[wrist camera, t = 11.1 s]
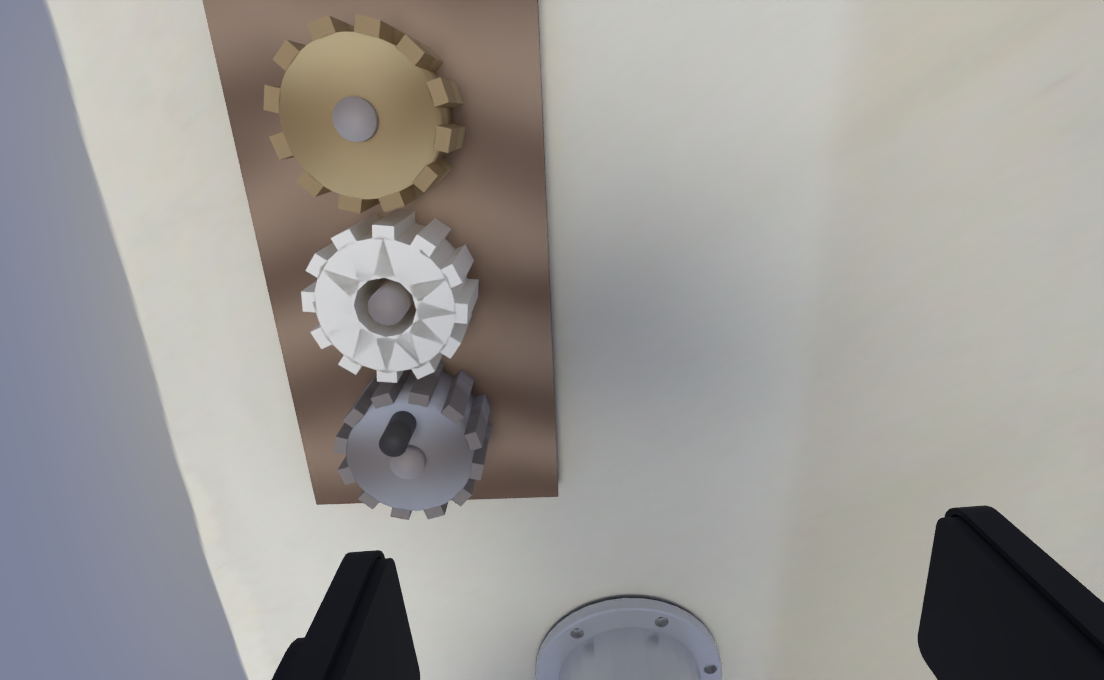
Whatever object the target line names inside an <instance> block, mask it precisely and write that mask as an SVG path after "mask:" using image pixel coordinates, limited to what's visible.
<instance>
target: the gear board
mask: <svg viewBox="0 0 1104 680" xmlns="http://www.w3.org/2000/svg"><path fill="white" fill-rule="evenodd" d="M203 5H204V9H205V13H206V18H207V22H208V27H209V31H210V35H211V40H212V44H213V49H214V53H215V58H216V62H217V66H218V71H219V75H220V80H221V84H222V89H223V93H224V97H225V102H226V106H227V111H228V115H229V119H230V124H231V128H232V133H233V137H234V142H235V146H236V150H237V155H238V159H239V164H240V168H241V173H242V177H243V181H244V186H245V190H246V195H247V199H248V203H249V208H250V212H251V217H252V221H253V226H254V230H255V234H256V239H257V243H258V248H259V252H260V257H261V261H262V265H263V270H264V274H265V279H266V283H267V287H268V292H269V296H270V301H271V305H272V310H273V314H274V318H275V323H276V327H277V332H278V336H279V341H280V345H281V349H282V354H283V358H284V363H285V367H286V371H287V376H288V380H289V385H290V389H291V394H292V398H293V402H294V407H295V411H296V416H297V420H298V425H299V429H300V433H301V438H302V442H303V447H304V451H305V455H306V460H307V464H308V469H309V473H310V478H311V482H312V486H313V491H314V495H315V500H316V504H317V505H319V504H349V503H364V504H366V505H367V506H369V507H370V508H372V509H373V508H374V507H375V506H376V505H377V504H378V503H380V502H381V503H383V504H385V505H387V506H390V507H392V512H391V517H396V518H401V519H407V520H409V518H410V515H411V512H412V511H418V510H424V512H425V514H426V516H427V518H428V519H431V518H435V517H438V516H442V515H445V512H446V508H447V504H448V501H450V500H453V501H454V502H455V503H457V504H458V505H459V506H461V505H462V504H463V503H465V502H466V501H467V500H470V499H500V498H530V497H558V468H557V444H556V420H555V397H554V373H553V349H552V325H551V302H550V278H549V254H548V230H547V206H546V183H545V159H544V135H543V111H542V87H541V64H540V40H539V16H538V0H203ZM395 210H408V211H415V223H417V224H420V225H423V226H425V227H426V226H427V225H428V224H429V223H430V222H431V221H432V220H434V219H435V218H436V219H437V220H439V221H440V222H442V223H443V224H445V225H447V226H448V227H450V228H451V230H450V232H449V234H448V235H447V237H446V238H445V239H446V240H447V241H448V242H449V243H450V244H451V245H452V246H453V247H454V248H455V249H456V248H458V247H460V246H462V245H464V244H466V246H467V248H468V250H469V252H470V254H471V255H472V257H473V259H474V262H473V264H472V266H471V268H470V270H469V271H468V273H467V279H479V285H478V298H477V301H476V303H475V306H474V308H473V311H472V313H471V314H472V317H471V319H470V322H469V324H468V327H467V329H466V332H465V334H464V337H463V339H462V342H461V344H460V345H459V347H458V348H457V350H456V351H455V353H454V354H453V356H452V357H451V359H450V358H448V357H447V356H445V355H442V357H441V359H440V362H439V364H438V366H437V368H436V370H435V372H433V373H431V374H429V375H426V376H424V377H422V378H420V379H417V378H416V376H415V374H414V373H413V371H412V369H409V370H404V371H403V373H402V375H401V377H400V378H399V380H398V382H397V383H392V382H378V381H377V370H375V369H371V368H368V367H365V366H362V368H361V369H360V370H359V372H358V373H357V374H356V375H355V374H353V373H352V372H350V371H348V370H347V369H345V368H343V367H341V366H340V365H338V364H339V362H340V360H341V359H342V357H343V356H344V355H343V354H342V353H341V352H340V351H339V350H338V349H337V348H336V347H335V346H334V345H333V344H332V345H330V346H328V347H325V348H323V349H321V348H320V346H319V345H318V343H317V342H316V340H315V339H314V337H313V336H312V334H311V333H310V332H311V331H312V330H313V329H314V328H315V327H316V326H317V325H319V324H320V323H319V320H318V317H317V314H316V312H303V309H302V297H301V291H303V290H304V289H305V288H307V287H308V286H310V285H311V284H312V283H314V282H315V281H317V277H315V276H313V275H312V274H310V273H308V272H307V271H305V270H306V269H307V267H308V265H309V263H310V261H311V260H312V258H313V256H314V254H315V253H316V252H318V251H320V250H321V249H323V248H325V247H326V246H328V245H330V244H332V243H333V241H332V240H331V238H332V237H334V236H335V235H337V234H339V233H341V232H343V231H344V230H346V229H348V228H350V227H352V226H353V225H355V224H357V223H359V222H360V221H362V220H364V219H366V218H368V217H370V216H372V215H374V214H376V213H377V215H378V217H379V218H380V219H382V218H383V217H385V216H387V215H388V214H390V213H392V212H393V211H395ZM379 281H380V284H381V287H380V288H379V289H378V290H377V291H376V292H375V293H374V294H373V295H372V296H371V297H370V299H369V301H368V311H369V314H370V315H371V317H372V318H373V319H374V320H375V321H376V322H378V323H379V324H382V325H394V324H397V323H398V322H400V321H401V320H402V318H403V317H404V316H405V314H406V313H407V311H408V310H409V309H410V308H412V307H415V304H414V300H413V296H412V294H411V293H410V292H409V291H408V290H407V289H406V288H405V287H404V286H403V285H402V284H401V283H399V282H396V281H393V280H390V279H387V278H380V280H379Z"/></svg>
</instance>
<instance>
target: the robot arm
mask: <svg viewBox="0 0 1104 680" xmlns="http://www.w3.org/2000/svg"><path fill="white" fill-rule="evenodd" d="M918 645H919V649H920V652H921V654H922V657H923V658H924V660H925V662H926V663H927V665H928V666H929V668H930V669H931V671H932V672H933V673H934V675H935V676H936V678H937V679H938V680H1104V603H1103V602H1102V601H1101V600H1100V599H1099V598H1097V597H1096V596H1095V595H1094V594H1093V593H1092V592H1091V591H1089V590H1088V589H1087V588H1086V587H1085V586H1084V585H1082V584H1081V583H1080V582H1079V581H1078V580H1077V579H1076V578H1074V577H1073V576H1072V575H1071V574H1070V573H1069V572H1067V571H1066V570H1065V569H1064V568H1063V567H1062V566H1060V565H1059V564H1058V563H1057V562H1056V561H1055V560H1054V559H1052V558H1051V557H1050V556H1049V555H1048V554H1047V553H1045V552H1044V551H1043V550H1042V549H1041V548H1040V547H1038V546H1037V545H1036V544H1035V543H1034V542H1033V541H1032V540H1030V539H1029V538H1028V537H1027V536H1026V535H1025V534H1023V533H1022V532H1021V531H1020V530H1019V529H1018V528H1017V527H1015V526H1014V525H1013V524H1012V523H1011V522H1010V521H1008V520H1007V519H1006V518H1005V517H1004V516H1003V515H1001V514H1000V513H999V512H998V511H997V510H995V509H994V508H992V507H990V506H973V507H960V508H952V509H949V510H948V511H947V512H946V514H945V517H944V518H940V519H939V520H938V522H937V525H936V530H935V536H934V542H933V548H932V554H931V560H930V566H929V572H928V578H927V584H926V590H925V596H924V602H923V608H922V614H921V620H920V626H919V632H918ZM721 678H722V663H721V660H720V656H719V653H718V649H717V646H716V644H715V642H714V639H713V637H712V635H711V634H710V632H709V631H708V630H707V629H706V627H705V626H704V625H703V624H702V623H701V622H700V621H699V620H697V619H696V618H695V617H694V616H693V615H691V614H690V613H688V612H686V611H684V610H682V609H680V608H678V607H677V606H674V605H671V604H668V603H664V602H661V601H657V600H650V599H644V598H620V599H613V600H606V601H602V602H599V603H595V604H592V605H589V606H586V607H584V608H582V609H580V610H578V611H576V612H574V613H572V614H570V615H569V616H568V617H566V618H565V619H563V620H562V621H560V622H559V623H558V624H557V625H556V626H555V627H554V628H553V629H552V630H551V631H550V632H549V633H548V635H547V637H546V638H545V640H544V641H543V643H542V645H541V647H540V650H539V653H538V656H537V663H536V680H721ZM272 680H420V671H419V666H418V661H417V657H416V653H415V648H414V644H413V640H412V635H411V631H410V627H409V622H408V618H407V614H406V609H405V605H404V601H403V596H402V592H401V588H400V583H399V579H398V575H397V570H396V566H395V562H394V560H393V559H392V558H387V559H385V557H384V554H383V553H382V551H379V550H377V551H363V552H350V553H347V554H346V555H345V557H344V558H343V560H342V562H341V564H340V566H339V568H338V570H337V572H336V574H335V576H334V578H333V580H332V582H331V585H330V587H329V589H328V591H327V593H326V595H325V597H324V599H323V601H322V603H321V605H320V607H319V609H318V611H317V613H316V615H315V617H314V620H313V622H312V624H311V626H310V628H309V630H308V632H307V634H306V636H305V638H297V639H296V640H295V641H293V642H292V643H291V645H290V646H289V648H288V649H287V651H286V652H285V654H284V656H283V658H282V660H281V662H280V664H279V666H278V668H277V670H276V672H275V674H274V676H273V678H272Z"/></svg>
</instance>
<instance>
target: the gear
mask: <svg viewBox="0 0 1104 680" xmlns="http://www.w3.org/2000/svg"><path fill="white" fill-rule="evenodd" d="M450 230H451V228H450V227H448V226H447V225H445V224H443V223H442V222H440V221H439V220H437V219H436V218H435V219H434V220H432V221H431V222H430V223H429V224H428V225H427V226H426V227H425V226H423V225H420V224H417V223H415V211H408V210H395V211H393V212H392V213H390V214H388V215H387V216H385V217H383V218H382V219H380V218H379V217H378V215H377V213H376V214H374V215H372V216H370V217H368V218H366V219H364V220H362V221H360V222H359V223H357V224H355V225H353V226H352V227H350V228H348V229H346V230H344V231H343V232H341V233H339V234H337V235H335V236H334V237H332V238H331V240H332V241H333V243H332V244H330V245H328V246H326V247H325V248H323V249H321V250H320V251H318V252H316V253H315V254H314V256H313V258H312V260H311V261H310V263H309V265H308V267H307V269H306V270H305V271H307V272H308V273H310V274H312V275H313V276H315V277H317V281H315V282H314V283H312V284H311V285H310V286H308V287H307V288H305V289H304V290H303V291H301V297H302V309H303V312H316V314H317V317H318V320H319V323H320V324H319V325H317V326H316V327H315V328H314V329H313V330H312V331H311V332H310V333H311V334H312V336H313V337H314V339H315V340H316V342H317V343H318V345H319V346H320V348H321V349H323V348H325V347H328V346H330V345H332V344H333V345H334V346H335V347H336V348H337V349H338V350H339V351H340V352H341V353H342V354H343V355H344V356H343V357H342V359H341V360H340V362H339V364H338V365H340V366H341V367H343V368H345V369H347V370H348V371H350V372H352V373H353V374H355V375H356V374H357V373H358V372H359V370H360V369H361V368H362V366H365V367H368V368H371V369H375V370H377V381H378V382H392V383H397V382H398V380H399V378H400V377H401V375H402V373H403V371H404V370H409V369H412V371H413V373H414V374H415V376H416V378H417V379H420V378H422V377H424V376H426V375H429V374H431V373H433V372H435V370H436V368H437V366H438V364H439V362H440V359H441V357H442V355H445V356H447V357H448V358H450V359H451V357H452V356H453V354H454V353H455V351H456V350H457V348H458V347H459V345H460V344H461V342H462V339H463V337H464V334H465V332H466V329H467V327H468V324H469V322H470V319H471V317H472V314H471V313H472V311H473V308H474V306H475V303H476V301H477V298H478V285H479V279H467V273H468V271H469V270H470V268H471V266H472V264H473V262H474V259H473V257H472V255H471V254H470V252H469V250H468V248H467V246H466V244H464V245H462V246H460V247H458V248H456V249H455V248H454V247H453V246H452V245H451V244H450V243H449V242H448V241H447V240H446V239H445V238H446V237H447V235H448V234H449V232H450ZM380 278H387V279H390V280H393V281H396V282H399V283H401V284H402V285H403V286H404V287H405V288H406V289H407V290H408V291H409V292H410V293H411V294H412V296H413V300H414V304H415V307H412V308H410V309H409V310H408V311H407V313H406V314H405V316H404V317H403V318H402V320H401V321H400V322H398V323H397V324H394V325H382V324H379V323H378V322H376V321H375V320H374V319H373V318H372V317H371V315H370V314H369V311H368V301H369V299H370V297H371V296H372V295H373V294H374V293H375V292H376V291H377V290H378V289H379V288H380V287H381V284H380V281H379V280H380Z"/></svg>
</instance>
